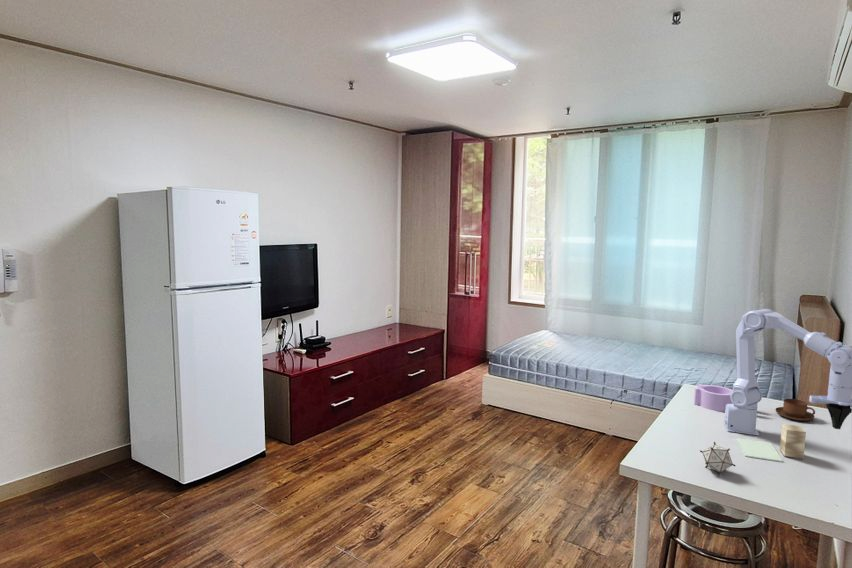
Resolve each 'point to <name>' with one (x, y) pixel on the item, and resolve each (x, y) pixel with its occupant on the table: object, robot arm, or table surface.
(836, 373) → the robot arm
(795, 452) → the maple block
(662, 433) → the table surface
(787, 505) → the table surface
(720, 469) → the game die
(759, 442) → the mat
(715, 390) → the clip
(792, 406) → the cup and saucer
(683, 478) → the table surface
